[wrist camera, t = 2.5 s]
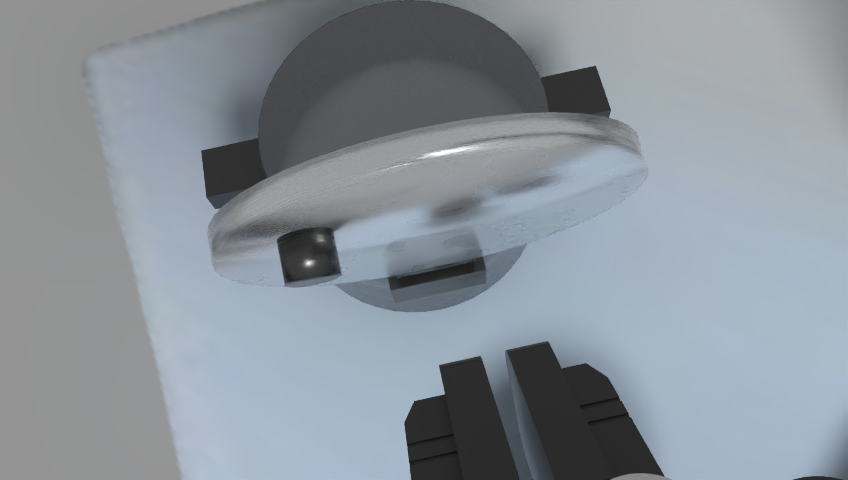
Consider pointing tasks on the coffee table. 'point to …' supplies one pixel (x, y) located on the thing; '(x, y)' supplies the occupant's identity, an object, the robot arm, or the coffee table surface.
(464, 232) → the cooker lid
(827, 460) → the coffee table surface
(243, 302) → the coffee table surface
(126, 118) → the coffee table surface
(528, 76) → the cooker pot
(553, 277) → the coffee table surface
